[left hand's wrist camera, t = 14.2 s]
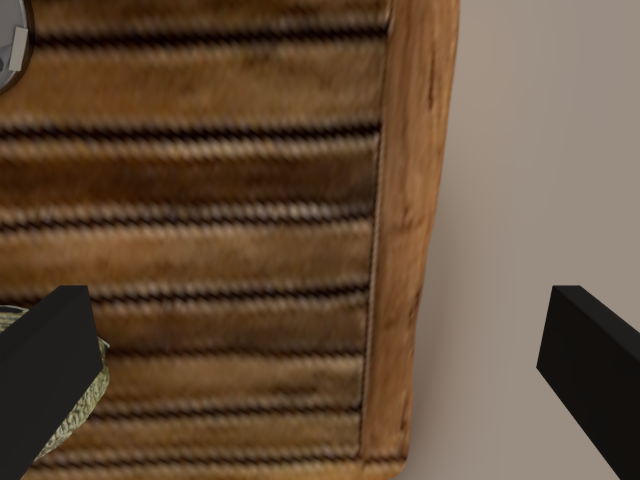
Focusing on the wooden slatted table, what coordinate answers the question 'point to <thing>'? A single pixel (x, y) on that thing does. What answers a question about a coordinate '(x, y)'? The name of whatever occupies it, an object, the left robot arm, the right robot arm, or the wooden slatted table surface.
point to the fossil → (5, 317)
